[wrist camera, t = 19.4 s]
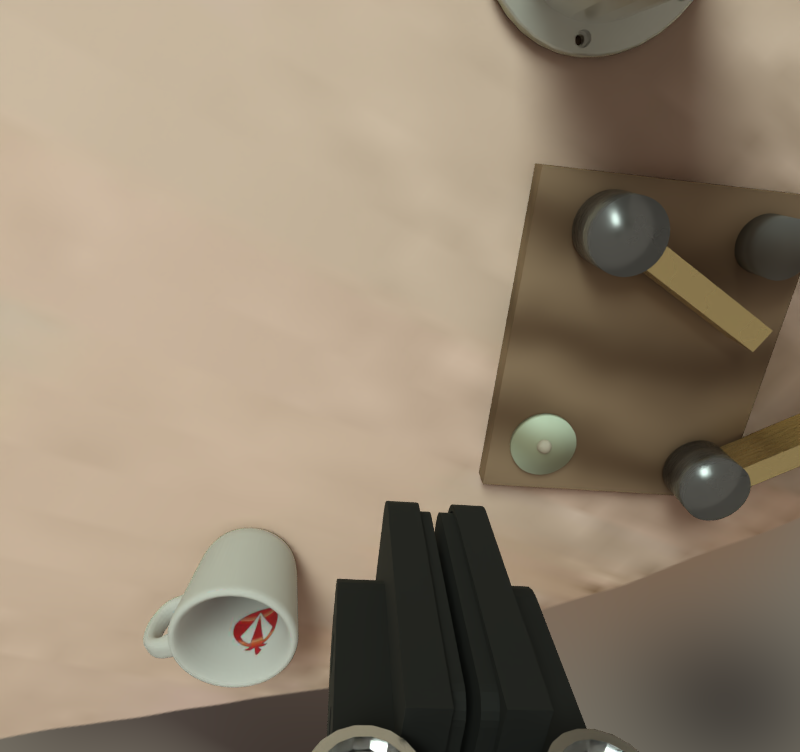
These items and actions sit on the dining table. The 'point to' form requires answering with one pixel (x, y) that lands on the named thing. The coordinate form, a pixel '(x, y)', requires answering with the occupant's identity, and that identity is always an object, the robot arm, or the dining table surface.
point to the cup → (233, 612)
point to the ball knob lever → (656, 259)
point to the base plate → (632, 336)
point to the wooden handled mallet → (730, 468)
